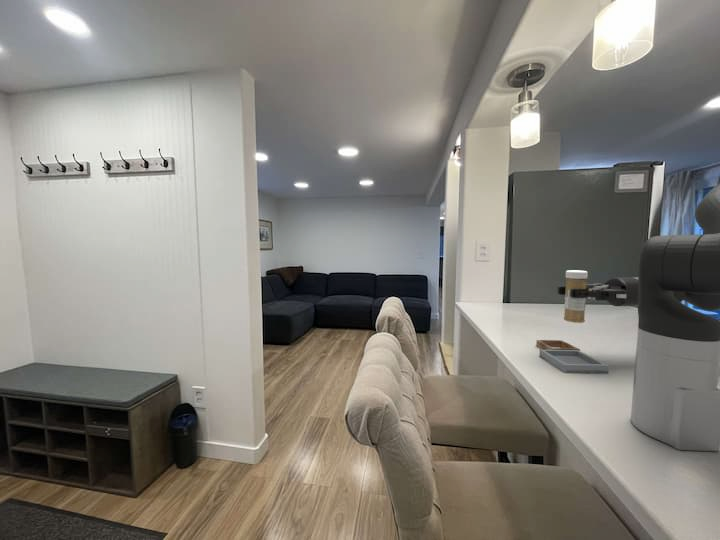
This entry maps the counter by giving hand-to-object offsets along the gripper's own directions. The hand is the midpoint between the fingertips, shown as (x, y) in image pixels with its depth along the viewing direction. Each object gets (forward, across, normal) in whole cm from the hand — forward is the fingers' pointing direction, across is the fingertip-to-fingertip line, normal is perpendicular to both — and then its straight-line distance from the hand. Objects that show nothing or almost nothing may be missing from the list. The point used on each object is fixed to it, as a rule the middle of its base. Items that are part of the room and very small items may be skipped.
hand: (564, 291), depth 74 cm
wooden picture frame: (-5, -10, +20) cm, 23 cm away
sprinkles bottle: (-3, 0, +8) cm, 8 cm away
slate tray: (-3, 0, +20) cm, 20 cm away
